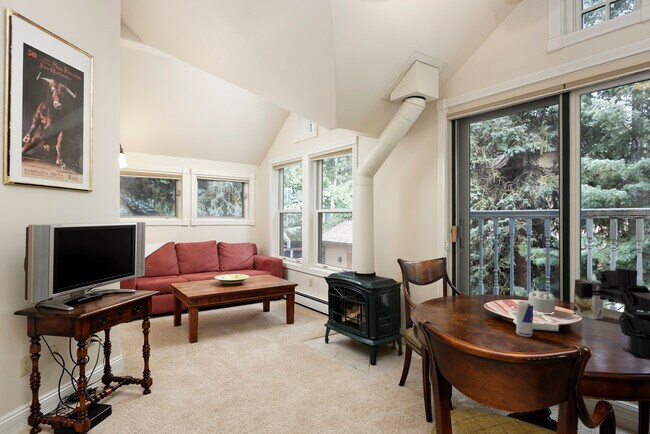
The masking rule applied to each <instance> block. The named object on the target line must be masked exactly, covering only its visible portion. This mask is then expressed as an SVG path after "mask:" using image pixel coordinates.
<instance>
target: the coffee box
mask: <svg viewBox="0 0 650 434" xmlns="http://www.w3.org/2000/svg"><path fill="white" fill-rule="evenodd" d="M578 282H587V283H591V284H592V286H593V290H599V288H600V287H599V284H602V283H601V282H600V281H595V280H591V279H584V278H578V279H574V293H573V309H572V310H573V312H575V313H577V314H579V315H578V316H580V315H581V317H584V318H587V319H591V320H599V319H603V313H604V300H601V299H600V296H593V298H592V299H581V298H578V297H577V283H578ZM573 312H572V313H573ZM577 314H576V315H577Z"/></svg>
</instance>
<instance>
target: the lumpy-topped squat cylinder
mask: <svg viewBox="0 0 650 434" xmlns="http://www.w3.org/2000/svg"><path fill="white" fill-rule="evenodd" d="M527 303H531V304H533V310H535V311H538V312H543V313H552V312H555V313H556V311H555V310H556V309H555V308H556V298H555V295H554V294H552V293H548V292H546V291H537V290H534V291H530V292H528V301H527Z"/></svg>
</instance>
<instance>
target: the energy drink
mask: <svg viewBox="0 0 650 434" xmlns="http://www.w3.org/2000/svg"><path fill="white" fill-rule="evenodd" d="M516 305H517V306H516V307H517V308H516V312H517V325H516V324H515V326H516V327H515V328H516V329H515V332H516V334H517V335H518V336H520V337H525V338H529V337H532V336H533V331H534V329H533V313H534V312H533V304H531V303H528V301H527V302H526V301H518V302H517V304H516Z"/></svg>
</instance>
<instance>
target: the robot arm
mask: <svg viewBox="0 0 650 434" xmlns="http://www.w3.org/2000/svg"><path fill="white" fill-rule="evenodd" d="M614 268H615V269H612V270H611V269H610V270H609V269H608V270H607V269H605V270H598V271H597V272H596V273H595V274H594V275H595V279H596V282H600V283H602V284H599V287H600V288H599V290H593V286H592V284H591V283H587V282H578V283H577V297H578V298H581V299H592V298H593V296H600V299H601V300H603V301H604V300H605V301H607V302H609V303H616V304H620V305H624V306H623V307H624V312H622V313H621V315H619V318H618V321H619V324H620V330H621V333H622V334H623V336H627V347H622V350H624V351H625V352H626V353H628V352H629V353H628V354H630V353H631V354H630V355H631V356H633V355H634V356H633V357H635V356H640V357H639V358H643V357H650V289H649V288H648V287H647V286H646V285H638V270H637V269H636V268H631V267H630V268H629V267H614Z"/></svg>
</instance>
